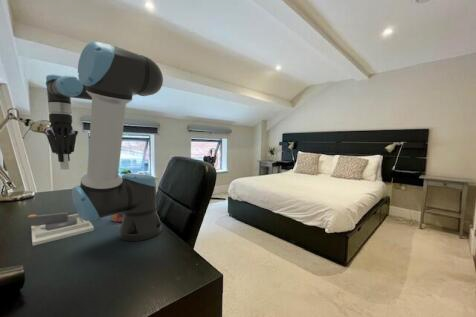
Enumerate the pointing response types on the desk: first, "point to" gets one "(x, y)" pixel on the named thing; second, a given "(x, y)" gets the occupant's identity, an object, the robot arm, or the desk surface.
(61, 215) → the dial
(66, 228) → the panel
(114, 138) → the robot arm
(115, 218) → the mug
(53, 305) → the desk surface
